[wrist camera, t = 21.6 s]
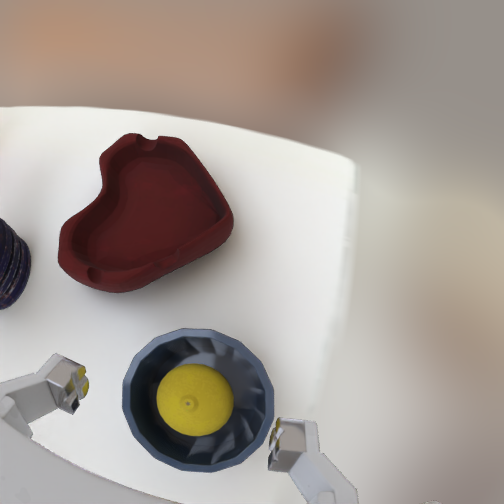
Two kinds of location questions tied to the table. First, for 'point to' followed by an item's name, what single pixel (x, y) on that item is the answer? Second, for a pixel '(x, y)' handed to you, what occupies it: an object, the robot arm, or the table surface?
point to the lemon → (195, 399)
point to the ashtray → (144, 216)
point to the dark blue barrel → (12, 265)
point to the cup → (239, 378)
